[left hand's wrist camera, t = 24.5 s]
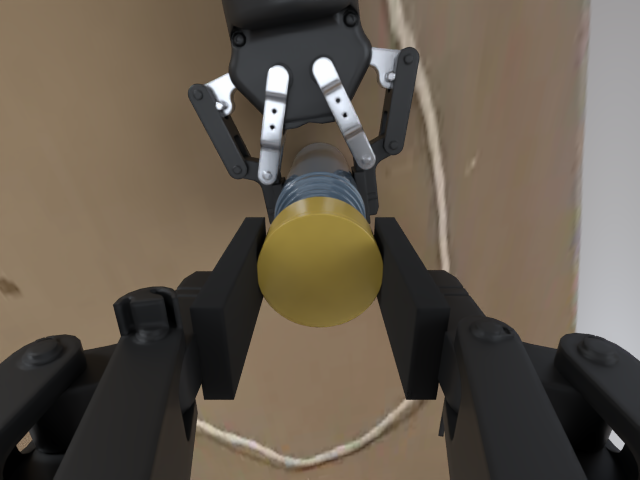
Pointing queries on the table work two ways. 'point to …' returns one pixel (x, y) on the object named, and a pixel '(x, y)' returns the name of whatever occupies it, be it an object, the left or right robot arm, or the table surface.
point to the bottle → (319, 178)
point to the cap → (320, 263)
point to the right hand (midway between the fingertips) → (326, 225)
